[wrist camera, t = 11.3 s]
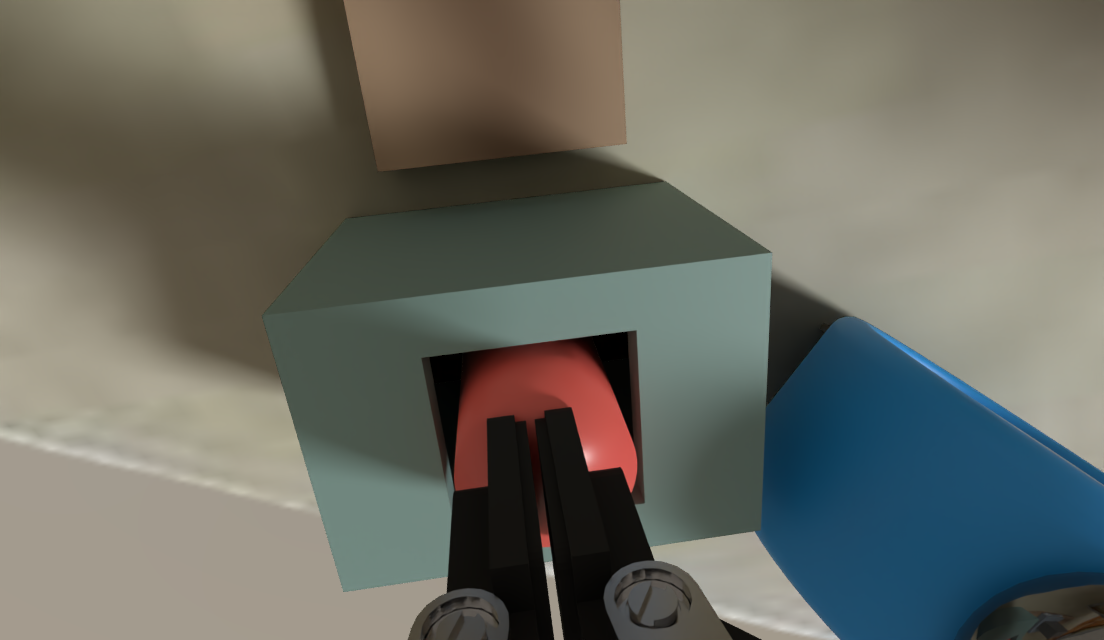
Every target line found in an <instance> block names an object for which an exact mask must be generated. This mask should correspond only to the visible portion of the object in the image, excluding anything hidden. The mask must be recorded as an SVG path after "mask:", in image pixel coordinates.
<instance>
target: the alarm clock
mask: <svg viewBox="0 0 1104 640" xmlns="http://www.w3.org/2000/svg"><path fill="white" fill-rule="evenodd" d="M820 329H821V330H822V331H823V332H824V335H823V336H822V337H821V338H820V340H819V341H818V342H817V343H816V345H815V346H814V347H813V348H812V350H811V351H810V352H809V354H808V355H807V356H806V357H805V359H804V360H803V361H802V362H801V364H800V365H799V366H798V367H797V369H796V370H795V371H794V373H793V374H792V375H791V376H790V378H789V379H788V380H787V381H786V383H785V384H784V385H783V386H782V388H781V389H780V390H779V392H778V393H777V394H776V395H775V397H774V398H773V399H772V400H771V402H770V403H769V404H768V405H767V407H766V417H765V441H764V466H763V490H762V515H761V530H759V531H755V533H756V534H757V536H758V537H759V539H760V541H761V542H762V544H763V545H764V547H765V548H766V550H767V551H768V552H769V554H770V555H771V557H772V558H773V560H774V561H775V562H776V564H777V565H778V566H779V568H780V569H781V570H782V572H783V573H784V574H785V576H786V577H787V578H788V580H789V581H790V582H791V583H792V585H793V586H794V587H795V588H796V590H797V591H798V592H799V593H800V594H801V596H802V597H803V598H804V599H805V601H806V602H807V603H808V604H809V605H810V606H811V608H812V609H813V610H814V611H815V612H816V613H817V614H818V616H819V617H820V618H821V619H822V620H823V621H824V623H825V624H826V625H827V626H828V627H829V628H830V629H831V630H832V631H833V632H834V633H835V634H836V636H837V637H838V638H839V639H840V640H1104V473H1103V472H1102V471H1100V470H1099V469H1097V468H1096V467H1094V466H1093V465H1091V464H1090V463H1088V462H1087V461H1085V460H1083V459H1082V458H1080V457H1079V456H1077V455H1076V454H1074V453H1073V452H1071V451H1070V450H1068V449H1067V448H1065V447H1064V446H1062V445H1061V444H1059V443H1057V442H1056V441H1054V440H1053V439H1051V438H1050V437H1048V436H1047V435H1045V434H1044V433H1042V432H1041V431H1039V430H1037V429H1036V428H1034V427H1033V426H1031V425H1030V424H1028V423H1027V422H1025V421H1024V420H1022V419H1021V418H1019V417H1017V416H1016V415H1014V414H1013V413H1011V412H1010V411H1008V410H1007V409H1005V408H1003V407H1002V406H1000V405H999V404H997V403H996V402H994V401H993V400H991V399H989V398H988V397H986V396H985V395H983V394H982V393H980V392H979V391H977V390H975V389H974V388H972V387H971V386H969V385H968V384H966V383H965V382H963V381H961V380H960V379H958V378H957V377H955V376H954V375H952V374H950V373H949V372H947V371H946V370H944V369H942V368H941V367H939V366H938V365H936V364H935V363H933V362H931V361H930V360H928V359H927V358H925V357H923V356H922V355H920V354H919V353H917V352H915V351H914V350H912V349H911V348H909V347H907V346H906V345H904V344H903V343H901V342H899V341H898V340H896V339H894V338H893V337H891V336H889V335H888V334H886V333H884V332H883V331H881V330H879V329H878V328H876V327H874V326H873V325H871V324H869V323H867V322H865V321H863V320H861V319H858V318H856V317H843V318H840V319H837V320H836V321H835V322H834V323H833V324H831V326H829V325H827V324H825V323H823V324H822V326H821V327H820Z"/></svg>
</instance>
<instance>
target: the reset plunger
mask: <svg viewBox="0 0 1104 640" xmlns="http://www.w3.org/2000/svg"><path fill="white" fill-rule="evenodd" d="M566 407H572V410H573V414H574V418H575V422H576V425H577V429H578V433H579V437H580V440H581V444H582V448H583V452H584V456H585V459H586V463H587V467H588V471H596V470H603V469H610V468H617V467H621V468H622V470H623V472H624V475H625V478H626V481H627V483H628V486H629V489H630V492H632V490H633V487H634V484H635V480H636V475H637V456H636V451H635V447H634V444H633V441H632V438H631V436H630V433H629V431H628V428H627V426H626V423H625V420H624V418H623V415H622V413H621V410H620V408H619V405H618V402H617V400H616V397H615V395H614V392H613V390H612V387H611V384H610V382H609V379H608V377H607V374H606V372H605V369H604V366H603V364H602V361H601V359H600V356H599V354H598V351H597V348H596V346H595V343H594V341H593V338H592V336H587V337H579V338H571V339H564V340H556V341H548V342H540V343H533V344H525V345H517V346H509V347H502V348H494V349H486V350H478V351H471V352H463V356H462V370H461V384H460V397H459V411H458V425H457V439H456V453H455V467H454V483H455V489H456V491H457V490H464V489H471V488H478V487H485V486H488V464H487V418H494V417H501V416H508V415H514V417H515V422H519V421H526V426H527V433H528V441H529V449H530V456H531V464H532V472H533V479H534V487H535V495H536V502H537V510H538V518H539V526H540V533H541V541H542V547H550V540H549V533H548V525H547V517H546V509H545V501H544V493H543V485H542V476H541V468H540V460H539V452H538V444H537V436H536V428H535V419H540V418H545V414H544V411H545V410H552V409H559V408H566Z"/></svg>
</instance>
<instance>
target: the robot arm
mask: <svg viewBox="0 0 1104 640" xmlns="http://www.w3.org/2000/svg"><path fill="white" fill-rule="evenodd" d="M544 414H545V418H540V419H535V428H536V436H537V444H538V452H539V460H540V468H541V476H542V485H543V493H544V501H545V509H546V517H547V525H548V533H549V540H550V547H551V554H552V561H553V568H554V575H555V582H556V589H557V596H558V603H559V609H560V616H561V623H562V630H563V637H564V640H761V639H759V638H757V637H755V636H753V635H751V634H749V633H747V632H745V631H743V630H741V629H739V628H737V627H735V626H733V625H731V624H729V623H727V622H725V621H723V620H721V619H719V617H718V616H717V614H716V612H715V611H714V609H713V608H712V606H711V605H710V603H709V601H708V600H707V598H706V597H705V595H704V593H703V592H702V590H701V589H700V587H699V585H698V584H697V583H696V582H695V580H694V579H693V578H692V577H691V576H690V575H689V574H688V573H687V572H685V571H684V570H682V569H680V568H679V567H677V566H675V565H672V564H668V563H665V562H661V561H654V558H653V555H652V552H651V549H650V546H649V544H648V541H647V538H646V535H645V532H644V529H643V526H642V523H641V521H640V518H639V515H638V512H637V509H636V506H635V503H634V501H633V498H632V495H631V492H630V489H629V486H628V483H627V481H626V478H625V475H624V472H623V470H622V468H621V467H617V468H610V469H603V470H596V471H588V467H587V463H586V459H585V456H584V452H583V448H582V444H581V440H580V437H579V433H578V429H577V425H576V422H575V418H574V414H573V410H572V407H566V408H559V409H552V410H545V411H544ZM487 464H488V486H485V487H478V488H471V489H464V490H457V491H454V493H453V500H452V516H451V532H450V548H449V564H448V582H447V593H446V594H444V595H441V596H439V597H438V598H436V599H435V600H433V601H432V602H430V603H429V604H428V605H426V607H425V608H424V609H423V610H422V611H421V612H420V613H419V615H418V616H417V618H416V619H415V622H414V624H413V626H412V628H411V631H410V634H409V638H408V640H554V634H553V627H552V619H551V611H550V604H549V596H548V588H547V580H546V572H545V564H544V557H543V549H542V541H541V533H540V526H539V518H538V510H537V502H536V495H535V487H534V479H533V472H532V464H531V456H530V449H529V441H528V433H527V426H526V421H519V422H515V417H514V415H508V416H501V417H494V418H487Z"/></svg>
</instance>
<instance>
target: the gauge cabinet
mask: <svg viewBox="0 0 1104 640" xmlns="http://www.w3.org/2000/svg"><path fill="white" fill-rule="evenodd" d="M771 270H772V252H770V251H769V250H767V249H766V248H764V247H763V246H761V245H760V244H758V243H757V242H756V241H754V240H753V239H751V238H750V237H748V236H747V235H745V234H744V233H742V232H741V231H739V230H738V229H736V228H735V227H733V226H732V225H730V224H729V223H727V222H726V221H724V220H723V219H721V218H720V217H718V216H717V215H715V214H714V213H712V212H711V211H709V210H708V209H706V208H705V207H703V206H702V205H700V204H699V203H697V202H696V201H694V200H693V199H691V198H690V197H688V196H687V195H685V194H684V193H682V192H681V191H679V190H678V189H676V188H675V187H673V186H672V185H670V184H669V183H667V182H657V183H649V184H640V185H631V186H623V187H614V188H606V189H597V190H588V191H580V192H571V193H563V194H554V195H545V196H537V197H528V198H520V199H511V200H502V201H494V202H485V203H477V204H468V205H459V206H451V207H442V208H434V209H425V210H416V211H408V212H399V213H390V214H382V215H373V216H365V217H356V218H347V219H345V220H344V222H343V223H342V224H341V225H340V226H339V227H338V228H337V230H336V231H335V232H334V233H333V234H332V235H331V237H330V238H329V239H328V240H327V241H326V242H325V243H324V245H323V246H322V247H321V248H320V249H319V250H318V251H317V253H316V254H315V255H314V256H313V257H312V258H311V260H310V261H309V262H308V263H307V264H306V265H305V266H304V268H303V269H302V270H301V271H300V272H299V273H298V275H297V276H296V277H295V278H294V279H293V280H292V281H291V283H290V284H289V285H288V286H287V287H286V288H285V290H284V291H283V292H282V293H281V294H280V295H279V296H278V298H277V299H276V300H275V301H274V302H273V303H272V305H271V306H270V307H269V308H268V309H267V310H266V311H265V313H264V314H263V315H262V318H263V322H264V325H265V329H266V332H267V335H268V339H269V342H270V345H271V349H272V352H273V356H274V359H275V362H276V366H277V369H278V372H279V376H280V379H281V383H282V386H283V389H284V393H285V396H286V399H287V403H288V406H289V410H290V413H291V416H292V420H293V423H294V426H295V430H296V433H297V437H298V440H299V443H300V447H301V450H302V453H303V457H304V460H305V464H306V467H307V470H308V474H309V477H310V480H311V484H312V487H313V491H314V494H315V497H316V501H317V504H318V507H319V511H320V514H321V518H322V521H323V524H324V527H325V531H326V534H327V538H328V541H329V544H330V548H331V551H332V555H333V558H334V561H335V565H336V568H337V572H338V575H339V578H340V582H341V585H342V588H343V592H347V591H354V590H361V589H367V588H374V587H381V586H387V585H394V584H401V583H408V582H414V581H421V580H428V579H434V578H441V577H448V564H449V548H450V532H451V516H452V500H453V493H454V491H456V489H455V483H454V467H455V453H456V439H457V425H458V411H459V397H460V384H461V380H456V381H448V382H441V383H434V381H433V375H432V370H431V365H430V360H429V357H432V356H439V355H447V354H455V353H463V352H471V351H478V350H486V349H494V348H502V347H509V346H517V345H525V344H533V343H540V342H548V341H556V340H564V339H571V338H579V337H587V336H595V335H602V334H610V333H618V332H626V331H628V348H629V358H624V359H616V360H608V361H602V364H603V366H604V369H605V372H606V374H607V377H608V379H609V382H610V384H611V387H612V390H613V392H614V395H615V397H616V400H617V402H618V405H619V408H620V410H621V413H622V415H623V418H624V420H625V423H626V426H627V428H628V431H629V433H630V436H631V438H632V441H633V444H634V447H635V451H636V456H637V475H636V480H635V484H634V487H633V490H632V492H631V495H632V498H633V501H634V503H635V506H636V509H637V512H638V515H639V518H640V521H641V523H642V526H643V529H644V532H645V535H646V538H647V541H648V544H649V546H650V547H651V546H658V545H665V544H671V543H678V542H685V541H692V540H698V539H705V538H712V537H719V536H725V535H732V534H739V533H746V532H752V531H759V530H761V515H762V490H763V466H764V441H765V417H766V393H767V368H768V344H769V319H770V295H771ZM542 549H543V557H544V562H550V561H552V554H551V547H542Z"/></svg>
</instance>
